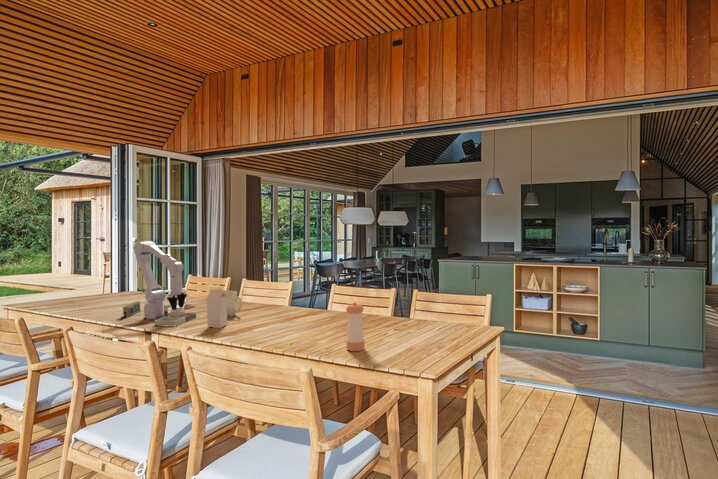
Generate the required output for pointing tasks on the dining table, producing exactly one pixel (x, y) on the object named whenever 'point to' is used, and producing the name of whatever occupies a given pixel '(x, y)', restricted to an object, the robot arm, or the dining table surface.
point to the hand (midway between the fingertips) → (177, 308)
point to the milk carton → (216, 308)
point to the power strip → (188, 316)
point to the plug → (177, 312)
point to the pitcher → (232, 302)
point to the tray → (170, 321)
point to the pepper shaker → (355, 328)
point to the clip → (167, 308)
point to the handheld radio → (131, 309)
